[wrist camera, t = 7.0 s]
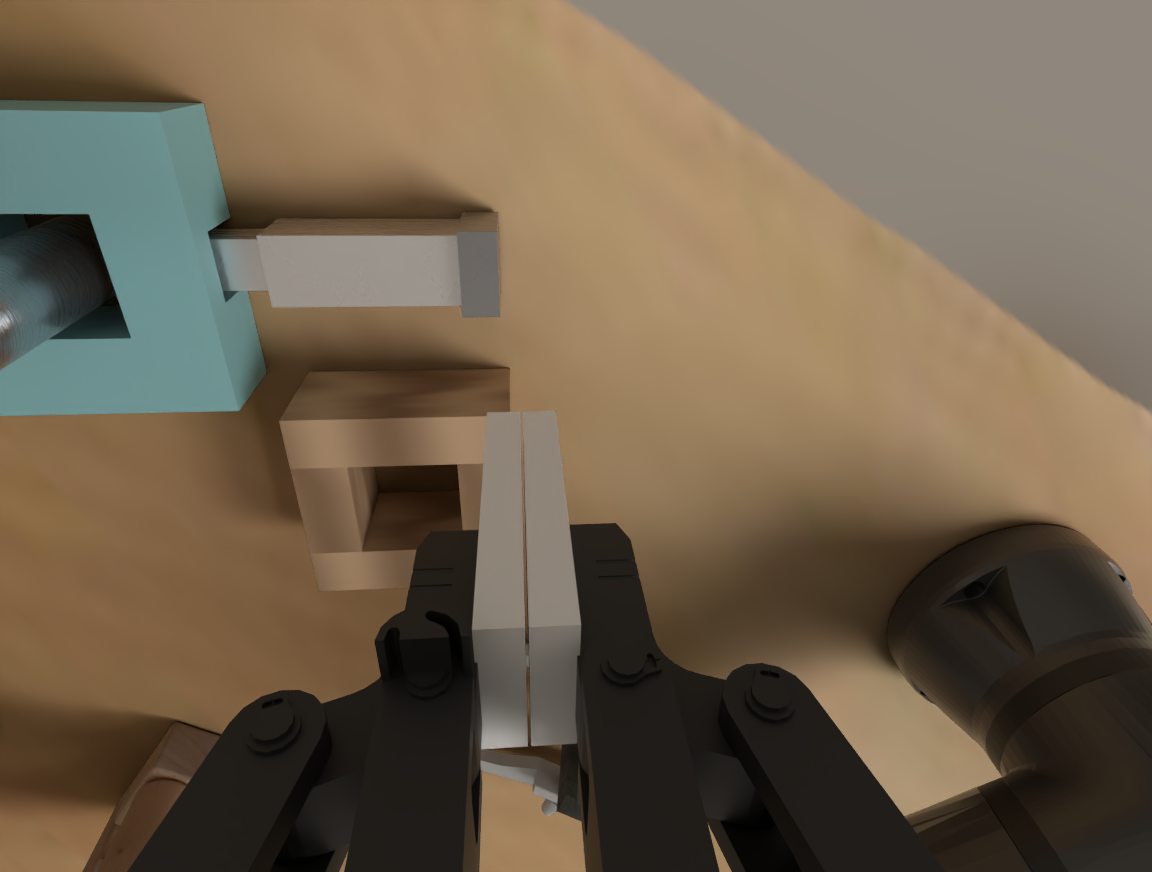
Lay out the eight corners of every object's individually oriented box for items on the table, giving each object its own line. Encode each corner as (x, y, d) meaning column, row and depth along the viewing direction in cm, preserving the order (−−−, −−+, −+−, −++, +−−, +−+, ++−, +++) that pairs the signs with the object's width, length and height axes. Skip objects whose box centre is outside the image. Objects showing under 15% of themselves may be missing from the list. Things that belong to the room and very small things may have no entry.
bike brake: (694, 686, 47) (437, 565, 43) (705, 774, 41) (408, 641, 37) (596, 789, 53) (362, 690, 49) (593, 880, 47) (326, 774, 43)
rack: (510, 368, 34) (510, 415, 30) (514, 523, 39) (515, 582, 35) (308, 371, 33) (278, 421, 29) (340, 529, 38) (319, 591, 34)
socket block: (203, 103, 27) (159, 112, 24) (266, 372, 33) (239, 410, 30) (-118, 98, 26) (-213, 106, 23) (8, 376, 32) (-51, 417, 29)
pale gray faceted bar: (498, 212, 30) (496, 231, 27) (501, 290, 32) (499, 316, 29) (181, 211, 29) (141, 231, 26) (203, 292, 31) (169, 320, 28)
